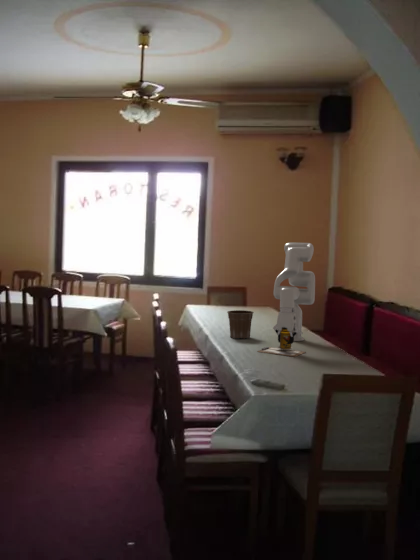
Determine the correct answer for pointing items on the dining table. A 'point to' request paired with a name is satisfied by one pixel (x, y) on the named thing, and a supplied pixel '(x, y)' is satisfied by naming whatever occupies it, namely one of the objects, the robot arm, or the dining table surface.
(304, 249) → the robot arm
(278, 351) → the clipboard
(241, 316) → the plant pot
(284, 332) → the condiment
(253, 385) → the dining table surface
